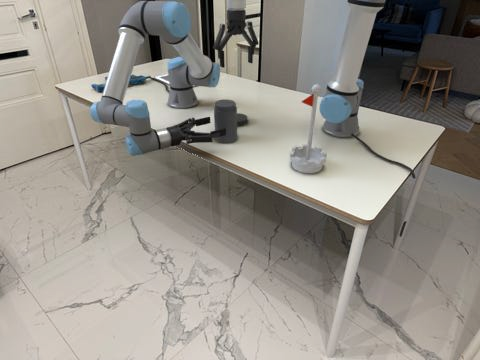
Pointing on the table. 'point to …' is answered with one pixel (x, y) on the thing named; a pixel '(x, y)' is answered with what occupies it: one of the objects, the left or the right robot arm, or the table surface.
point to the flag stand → (309, 143)
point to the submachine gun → (133, 80)
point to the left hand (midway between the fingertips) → (217, 125)
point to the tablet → (164, 79)
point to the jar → (226, 120)
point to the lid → (241, 119)
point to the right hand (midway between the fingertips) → (236, 64)
